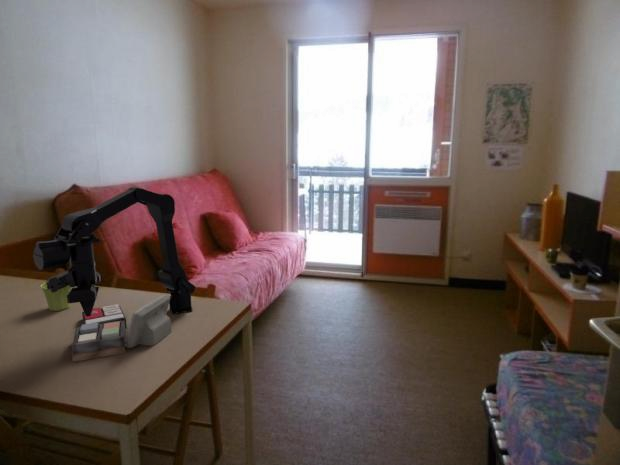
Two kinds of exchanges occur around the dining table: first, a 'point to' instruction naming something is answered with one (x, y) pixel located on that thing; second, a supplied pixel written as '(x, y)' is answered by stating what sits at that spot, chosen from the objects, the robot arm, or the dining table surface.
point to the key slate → (89, 328)
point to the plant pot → (56, 298)
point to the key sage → (110, 332)
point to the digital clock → (149, 323)
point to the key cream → (87, 337)
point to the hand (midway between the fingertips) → (88, 315)
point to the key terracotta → (112, 325)
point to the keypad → (99, 344)
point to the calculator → (105, 315)
